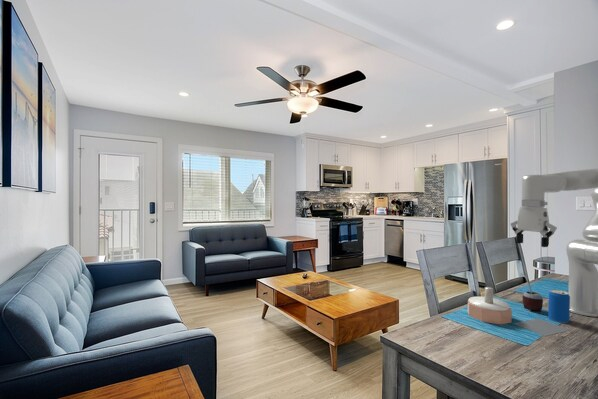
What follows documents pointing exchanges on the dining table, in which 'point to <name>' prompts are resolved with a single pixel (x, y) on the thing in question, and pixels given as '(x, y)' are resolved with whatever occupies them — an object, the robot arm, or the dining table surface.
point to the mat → (541, 327)
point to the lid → (489, 301)
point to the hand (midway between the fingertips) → (531, 244)
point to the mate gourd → (532, 299)
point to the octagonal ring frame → (490, 315)
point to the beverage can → (559, 306)
